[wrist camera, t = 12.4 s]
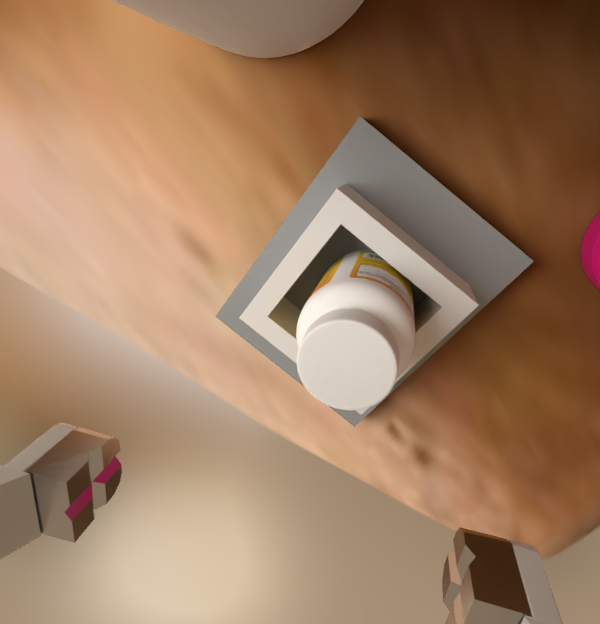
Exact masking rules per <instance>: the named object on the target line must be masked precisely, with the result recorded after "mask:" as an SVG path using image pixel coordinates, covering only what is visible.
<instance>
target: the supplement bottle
mask: <svg viewBox="0 0 600 624" xmlns="http://www.w3.org/2000/svg"><path fill="white" fill-rule="evenodd" d="M415 337H416V331H415V320H414V305H413V290H412V284H411V281H410V280H409V279H407V278H406V277H405V276H404V275H402V274H401V273H400V272H399V271H398V270H396V269H395V268H394V267H393V266H391V265H390V264H389V263H388V262H387V261H385V260H384V259H383V258H382V257H380V256H379V255H378V254H377V253H376V252H374V251H373V250H358V251H353V252H350V253H348V254H346V255H344V256H342V257H340V258H339V259H338V260H336V261H335V262H334V263H333V264H332V265H331V266H330V268H329V269H328V270H327V272H326V273H325V275H324V276H323V278H322V279H321V281H320V282H319V284H318V285H317V287H316V288H315V290H314V291H313V293H312V294H311V296H310V297H309V298H308V300H307V302H306V303H305V305H304V307H303V309H302V311H301V313H300V316H299V319H298V323H297V330H296V338H297V345H298V353H297V369H298V374H299V376H300V379H301V381H302V383H303V385H304V386H305V388H306V389H307V390H308V391H309V393H310V394H311V395H313V396H314V397H315V398H316V399H317V400H319V401H320V402H322V403H324V404H326V405H328V406H330V407H333V408H336V409H341V410H361V409H365V408H368V407H371V406H373V405H375V404H377V403H379V402H380V401H382V400H383V399H384V398H385V397H386V396H387V395H388V394H389V393H390V391H391V390H392V388H393V386H394V384H395V382H396V379H397V378H398V377H399V376H400V375H401V374H402V373H403V372H404V370H405V369H406V368H407V366H408V365H409V363H410V361H411V358H412V356H413V352H414V348H415Z"/></svg>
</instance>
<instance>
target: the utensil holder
mask: <svg viewBox="0 0 600 624" xmlns="http://www.w3.org/2000/svg"><path fill="white" fill-rule="evenodd" d="M112 1H114V2H117V3H119V4H121V5H123V6H126V7H128V8H130V9H132V10H134V11H136V12H138V13H140V14H143V15H145V16H147V17H149V18H151V19H153V20H155V21H157V22H159V23H161V24H164V25H166V26H168V27H171V28H173V29H175V30H178V31H180V32H182V33H184V34H187V35H189V36H192V37H194V38H196V39H199V40H201V41H204V42H206V43H208V44H211V45H213V46H216V47H218V48H221V49H223V50H225V51H228V52H231V53H234V54H238V55H242V56H247V57H254V58H275V57H282V56H286V55H290V54H294V53H297V52H300V51H303V50H305V49H307V48H309V47H311V46H313V45H315V44H317V43H319V42H321V41H322V40H324V39H325V38H327V37H328V36H330V35H331V34H333V33H334V32H335V31H336V30H337V29H339V28H340V27H341V26H342V25H343V24H344V23H345V22H346V21H347V20H348V19H349V18H350V17H351V16H352V15H353V14H354V13H355V12H356V10H357V9H358V8H359V7H360V5H361V4H362V3H363V2H364V0H112Z"/></svg>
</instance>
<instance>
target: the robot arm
mask: <svg viewBox="0 0 600 624" xmlns="http://www.w3.org/2000/svg"><path fill="white" fill-rule="evenodd" d="M119 451H120V443H119V440H118V439H117V438H115V437H112V436H108V435H104V434H101V433H98V432H95V431H91V430H87V429H84V428H79V427H76V426H73V425H69V424H66V423H60V424H56V425H54V426H53V427H52V428H51V429H49V430H48V431H47V432H46V433H45V434H43V435H42V436H41V437H39V438H38V439H37V440H36V441H35V442H33V443H32V444H31V445H30V446H28V447H27V448H26V449H25V450H24V451H22V452H21V453H20V454H19V455H17V456H16V457H15V458H14V459H12V460H11V461H10V462H9V463H7V464H6V465H5V466H2V465H0V559H2V558H4V557H6V556H7V555H9V554H11V553H12V552H14V551H16V550H17V549H19V548H21V547H22V546H24V545H26V544H28V543H29V542H31V541H33V540H34V539H36V538H38V537H40V536H41V534H45V535H49V536H53V537H56V538H60V539H63V540H68V541H71V542H76V541H77V539H78V538H79V537H80V536H81V534H82V533H83V532H84V531H85V530H86V528H87V527H88V526H89V525H90V523H91V522H92V521H93V520H94V513H95V509H97V508H99V507H101V506H103V505H105V504H107V502H108V501H109V500H110V499H111V498H112V496H113V495H114V493H115V491H116V489H117V487H118V485H119V483H120V479H121V473H122V469H121V464H120V462H119V461H118V459H117V458H116V455H117V454H118V453H119ZM453 540H454V549H455V550H454V551H452V552H450V553H448V555H447V558H446V561H445V564H444V571H443V578H442V591H443V602H444V603H445V604H446V606H447V608H448V609H449V611H450V613H449V615H448V618H447V620H446V623H445V624H563V623H562V620H561V617H560V614H559V611H558V608H557V605H556V602H555V600H554V597H553V594H552V591H551V588H550V585H549V582H548V579H547V576H546V573H545V571H544V568H543V565H542V562H541V559H540V556H539V553H538V551H537V549H536V548H535V547H534V546H532V545H528V544H524V543H520V542H516V541H512V540H507V539H504V538H500V537H496V536H492V535H488V534H484V533H480V532H476V531H472V530H468V529H464V528H459V529H458V530H457V531H456V534H455V537H454V539H453Z"/></svg>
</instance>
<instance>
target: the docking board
mask: <svg viewBox="0 0 600 624" xmlns="http://www.w3.org/2000/svg"><path fill="white" fill-rule="evenodd" d="M358 250H373V251H374V252H376V253H377V254H378V255H379V256H380V257H382V258H383V259H384V260H385V261H387V262H388V263H389V264H390V265H391V266H393V267H394V268H395V269H396V270H398V271H399V272H400V273H401V274H402V275H404V276H405V277H406V278H407V279H409V280H410V281H411V284H412V290H413V305H414V320H415V331H416V337H415V348H414V352H413V356H412V358H411V361H410V363H409V365H408V366H407V368H406V369H405V370H404V372H403V373H402V374H401V375H400V376H399V377H398V378H397V379H396V382H395V384H394V386H393V388H392V390H391V391H390V393H389V394H391V393H392V392H393V391H394V390H395V389H396V388H397V387H398V386H399V385H400V384H401V383H402V382H404V381H405V380H406V379H407V378H408V377H409V376H410V375H411V374H412V373H413V372H414V371H415V370H417V369H418V368H419V367H420V366H421V365H422V364H423V363H424V362H425V361H426V360H427V359H428V358H430V357H431V356H432V355H433V354H434V353H435V352H436V351H437V350H438V349H439V348H440V347H441V346H443V345H444V344H445V343H446V342H447V341H448V340H449V339H450V338H451V337H452V336H453V335H454V334H456V333H457V332H458V331H459V330H460V329H461V328H462V327H463V326H464V325H465V324H466V323H467V322H469V321H470V320H471V319H472V318H473V317H474V316H475V315H476V314H477V313H478V312H479V311H480V310H482V309H483V308H484V307H485V306H486V305H487V304H488V303H489V302H490V301H491V300H492V299H493V298H495V297H496V296H497V295H498V294H499V293H500V292H501V291H502V290H503V289H504V288H505V287H506V286H508V285H509V284H510V283H511V282H512V281H513V280H514V279H515V278H516V277H517V276H518V275H519V274H521V273H522V272H523V271H524V270H525V269H526V268H527V267H528V266H529V265H530V264H531V263H532V262H534V261H533V260H532V259H531V258H529V257H528V256H527V255H526V254H525V253H524V252H522V251H521V250H520V249H519V248H518V247H516V246H515V245H514V244H513V243H512V242H510V241H509V240H508V239H507V238H506V237H504V236H503V235H502V234H501V233H500V232H498V231H497V230H496V229H495V228H494V227H492V226H491V225H490V224H489V223H488V222H486V221H485V220H484V219H483V218H482V217H480V216H479V215H478V214H477V213H476V212H474V211H473V210H472V209H471V208H470V207H468V206H467V205H466V204H465V203H464V202H462V201H461V200H460V199H459V198H458V197H456V196H455V195H454V194H453V193H452V192H450V191H449V190H448V189H447V188H446V187H444V186H443V185H442V184H441V183H440V182H438V181H437V180H436V179H435V178H434V177H432V176H431V175H430V174H429V173H428V172H427V171H425V170H424V169H423V168H422V167H421V166H419V165H418V164H417V163H416V162H415V161H413V160H412V159H411V158H410V157H409V156H407V155H406V154H405V153H404V152H403V151H401V150H400V149H399V148H398V147H397V146H395V145H394V144H393V143H392V142H391V141H389V140H388V139H387V138H386V137H385V136H383V135H382V134H381V133H380V132H379V131H377V130H376V129H375V128H374V127H373V126H371V125H370V124H369V123H368V122H367V121H365V120H364V119H363V118H362V117H361V116H360V117H359V118H358V120H357V121H356V122H355V124H354V125H353V127H352V128H351V129H350V131H349V132H348V133H347V135H346V136H345V138H344V139H343V140H342V142H341V143H340V145H339V146H338V147H337V149H336V150H335V151H334V153H333V154H332V156H331V157H330V158H329V160H328V161H327V163H326V164H325V165H324V167H323V168H322V169H321V171H320V172H319V174H318V175H317V176H316V178H315V179H314V181H313V182H312V183H311V185H310V186H309V187H308V189H307V190H306V192H305V193H304V194H303V196H302V197H301V199H300V200H299V201H298V203H297V204H296V205H295V207H294V208H293V210H292V211H291V212H290V214H289V215H288V217H287V218H286V219H285V221H284V222H283V223H282V225H281V226H280V228H279V229H278V230H277V232H276V233H275V235H274V236H273V237H272V239H271V240H270V241H269V243H268V244H267V246H266V247H265V248H264V250H263V251H262V253H261V254H260V255H259V257H258V258H257V259H256V261H255V262H254V264H253V265H252V266H251V268H250V269H249V271H248V272H247V273H246V275H245V276H244V277H243V279H242V280H241V282H240V283H239V284H238V286H237V287H236V289H235V290H234V291H233V293H232V294H231V295H230V297H229V298H228V300H227V301H226V302H225V304H224V305H223V307H222V308H221V309H220V311H219V312H218V313H217V315H216V317H217V318H218V319H219V320H221V321H222V322H223V323H224V324H226V325H227V326H228V327H230V328H231V329H232V330H233V331H235V332H236V333H237V334H238V335H240V336H241V337H242V338H243V339H245V340H246V341H247V342H248V343H250V344H251V345H252V346H254V347H255V348H256V349H257V350H259V351H260V352H261V353H262V354H264V355H265V356H266V357H267V358H269V359H270V360H271V361H272V362H274V363H275V364H276V365H277V366H279V367H280V368H281V369H283V370H284V371H285V372H286V373H288V374H289V375H290V376H291V377H293V378H294V379H295V380H296V381H298V382H299V383H300V384H301V385H303V383H302V381H301V379H300V376H299V374H298V369H297V353H298V345H297V338H296V330H297V323H298V319H299V316H300V313H301V311H302V309H303V307H304V305H305V303H306V302H307V300H308V298H309V297H310V296H311V294H312V293H313V291H314V290H315V288H316V287H317V285H318V284H319V282H320V281H321V279H322V278H323V276H324V275H325V273H326V272H327V270H328V269H329V268H330V266H331V265H332V264H333V263H334V262H335V261H336V260H338V259H339V258H340V257H342V256H344V255H346V254H348V253H350V252H353V251H358ZM303 386H304V385H303ZM304 387H305V386H304ZM389 394H388V395H389ZM388 395H387V396H388ZM387 396H386V397H387ZM386 397H385V398H386ZM385 398H384V399H385ZM384 399H383V400H384ZM383 400H382V401H383ZM382 401H380V402H379V403H377V404H375V405H373V406H371V407H368V408H365V409H361V410H341V409H336V408H333V407H330V406H329V407H330V408H332V409H333V410H334V411H336V412H337V413H338V414H339V415H341V416H342V417H343V418H344V419H346V420H347V421H348V422H349V423H351V424H352V425H353V426H354V427H355V426H356V425H357V424H358V423H359V422H360V421H361V420H362V419H363V418H365V417H366V416H367V415H368V414H369V413H370V412H371V411H372V410H373V409H374V408H375V407H376V406H378V405H379V404H380V403H381V402H382Z"/></svg>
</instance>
